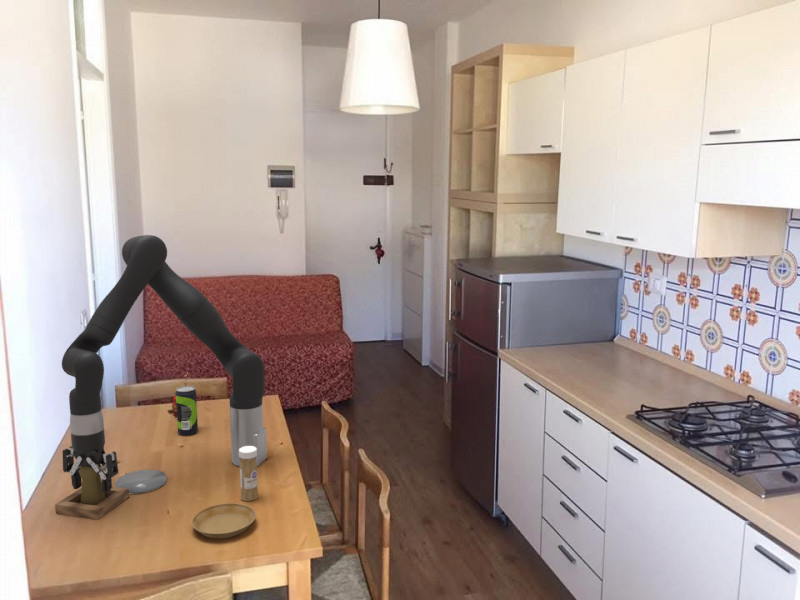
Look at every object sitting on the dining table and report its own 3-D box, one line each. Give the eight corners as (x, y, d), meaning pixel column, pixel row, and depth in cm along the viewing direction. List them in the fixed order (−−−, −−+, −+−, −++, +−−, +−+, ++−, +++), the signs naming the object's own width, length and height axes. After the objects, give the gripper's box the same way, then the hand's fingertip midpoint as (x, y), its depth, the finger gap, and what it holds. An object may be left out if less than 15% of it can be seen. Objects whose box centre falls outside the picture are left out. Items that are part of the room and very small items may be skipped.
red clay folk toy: (169, 413, 235) (167, 372, 232) (188, 409, 240) (186, 369, 237) (178, 419, 229) (175, 377, 227) (197, 415, 234) (195, 373, 231)
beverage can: (202, 431, 219) (199, 387, 216) (186, 437, 213) (184, 392, 211) (189, 428, 222) (186, 384, 219) (173, 433, 217) (171, 389, 214)
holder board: (129, 497, 173) (128, 488, 173) (97, 519, 162) (97, 510, 161) (89, 491, 176) (88, 483, 176) (55, 513, 165) (55, 504, 164)
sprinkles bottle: (252, 502, 171) (251, 453, 168) (237, 500, 172) (235, 450, 170) (261, 494, 175) (260, 446, 173) (246, 492, 176) (244, 444, 174)
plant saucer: (178, 536, 155) (177, 526, 154) (216, 508, 168) (216, 498, 168) (233, 549, 150) (232, 538, 149) (267, 518, 163) (267, 508, 163)
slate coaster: (176, 475, 186) (176, 472, 186) (147, 496, 174) (147, 493, 173) (135, 470, 189) (135, 467, 189) (104, 490, 177) (104, 487, 176)
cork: (96, 512, 165) (93, 470, 163) (74, 509, 167) (71, 468, 165) (111, 500, 171) (108, 460, 169) (90, 498, 172) (87, 458, 170)
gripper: (122, 425, 167) (126, 486, 170) (73, 420, 171) (78, 480, 173) (102, 436, 160) (106, 500, 163) (51, 431, 163) (57, 493, 166)
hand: (92, 489), depth 168 cm, fingers open, 8 cm apart
